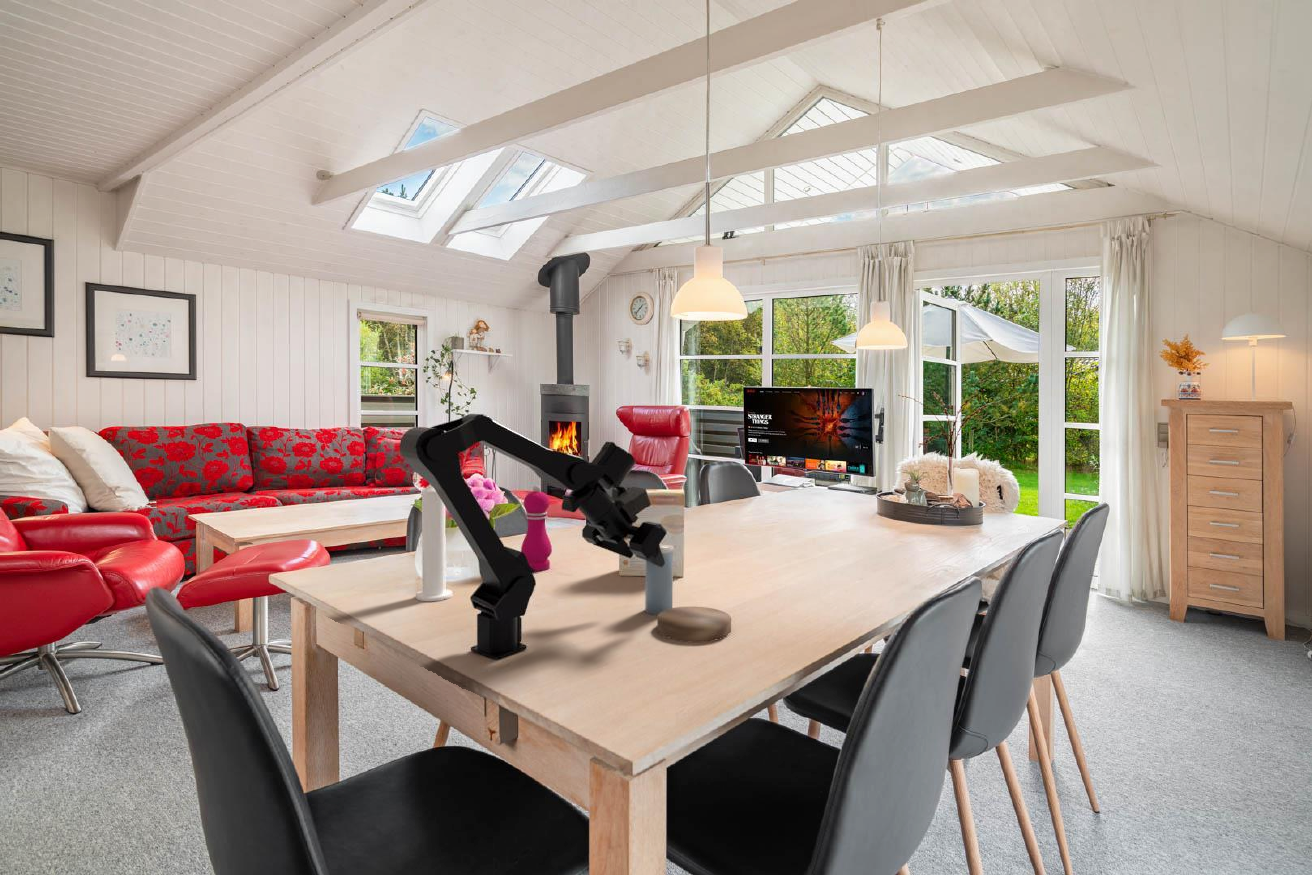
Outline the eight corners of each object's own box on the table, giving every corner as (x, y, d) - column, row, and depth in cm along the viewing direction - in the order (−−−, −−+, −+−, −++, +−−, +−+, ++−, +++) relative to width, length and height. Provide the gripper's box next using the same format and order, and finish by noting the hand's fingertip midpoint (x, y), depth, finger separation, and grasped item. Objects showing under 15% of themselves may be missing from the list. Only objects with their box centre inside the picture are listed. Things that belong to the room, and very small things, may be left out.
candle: (408, 598, 141) (407, 474, 140) (434, 590, 147) (433, 471, 146) (434, 603, 138) (433, 476, 137) (459, 594, 144) (459, 473, 143)
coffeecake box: (683, 570, 168) (684, 488, 167) (683, 577, 161) (684, 492, 160) (621, 568, 168) (622, 487, 167) (618, 576, 161) (619, 491, 160)
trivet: (704, 649, 115) (705, 634, 115) (642, 632, 123) (642, 618, 123) (744, 629, 126) (744, 615, 125) (684, 615, 133) (685, 602, 133)
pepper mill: (545, 572, 164) (545, 487, 163) (516, 570, 165) (516, 486, 164) (556, 565, 171) (556, 483, 170) (527, 564, 172) (528, 482, 171)
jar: (661, 616, 131) (662, 550, 131) (639, 611, 134) (640, 546, 134) (678, 610, 135) (678, 546, 135) (656, 605, 139) (656, 542, 138)
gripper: (658, 478, 121) (703, 534, 129) (594, 469, 135) (638, 520, 143) (622, 529, 116) (671, 583, 124) (560, 514, 130) (607, 564, 138)
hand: (646, 560), depth 132 cm, fingers open, 9 cm apart
